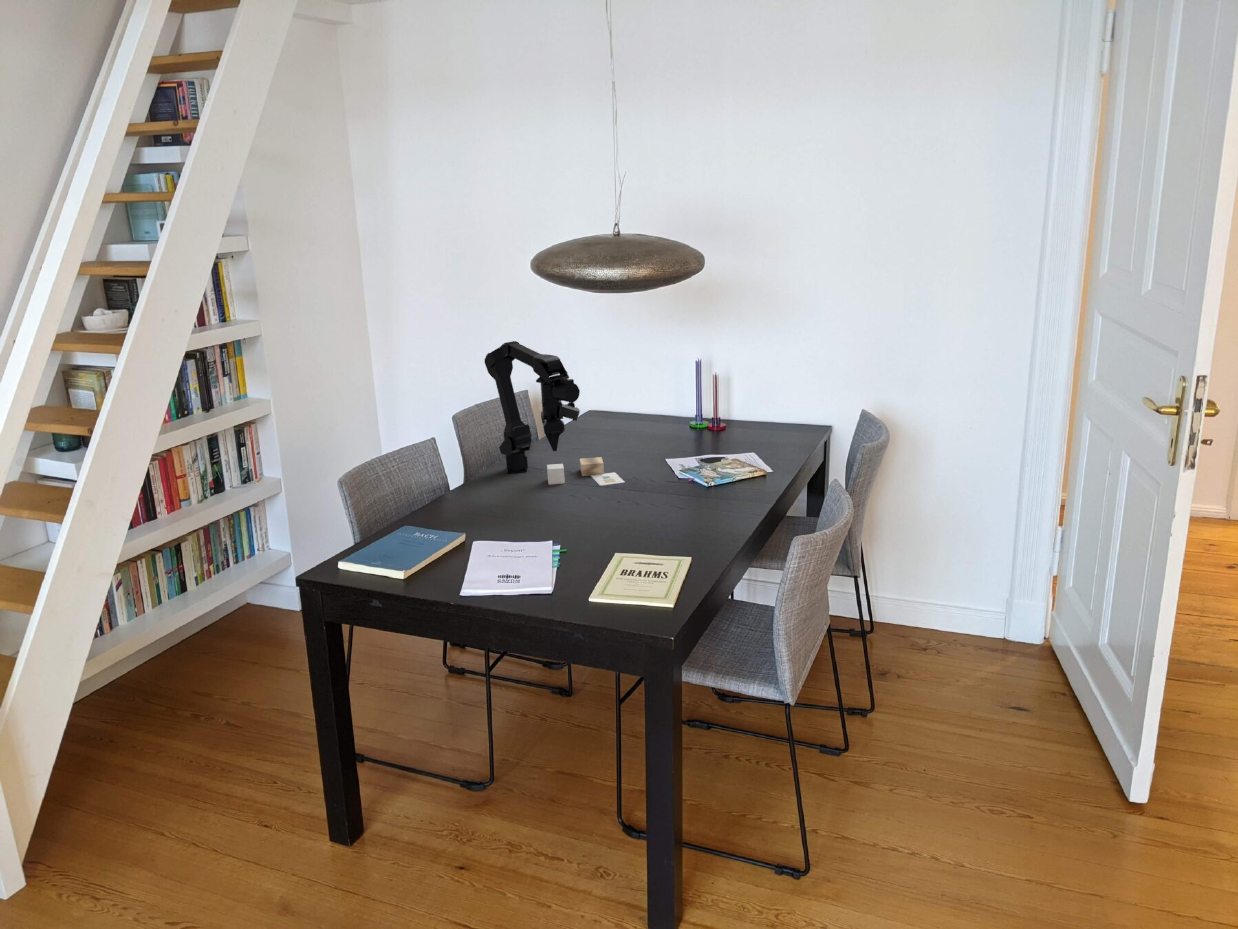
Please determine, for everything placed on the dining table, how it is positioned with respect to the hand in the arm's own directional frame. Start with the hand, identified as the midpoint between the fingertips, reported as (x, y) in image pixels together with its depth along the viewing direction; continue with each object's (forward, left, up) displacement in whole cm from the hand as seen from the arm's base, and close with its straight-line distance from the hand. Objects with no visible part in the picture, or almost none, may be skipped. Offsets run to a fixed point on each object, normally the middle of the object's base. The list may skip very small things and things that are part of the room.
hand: (554, 447), depth 293 cm
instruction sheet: (+16, -2, -11) cm, 20 cm away
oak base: (+12, +7, -11) cm, 18 cm away
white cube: (0, 0, -11) cm, 11 cm away
